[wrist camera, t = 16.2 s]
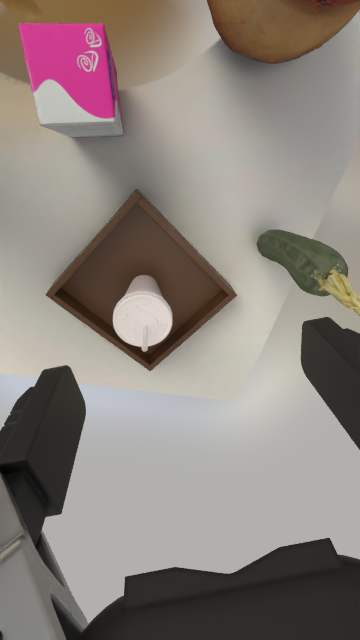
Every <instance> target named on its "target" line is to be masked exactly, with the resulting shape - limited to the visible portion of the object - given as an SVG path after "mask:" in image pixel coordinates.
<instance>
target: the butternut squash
mask: <svg viewBox="0 0 360 640" xmlns="http://www.w3.org/2000/svg"><path fill="white" fill-rule="evenodd" d="M207 2H208V5H209V9H210V11H211V15H212V19H213V24H214V26H215V28H216V30H217V31H218V33H219V35H220V37H221V39H222V40H223V41H224V43H225V44H226V45H227V46H228V47H229V48H230V49H231V50H232V51H233V52H236V53H239V54H243V55H246V56H248V57H250V58H252V59H254V60H256V61H260V62H264V63H268V64H276V63H282V62H287V61H291V60H293V59H296V58H299V57H301V56H303V55H305V54H307V53H309V52H311V51H313V50H315V49H317V48H319V47H321V46H322V45H323V44H324V43H325V42H327V41H328V40H329V39H331V38H332V37H333V36H334V35H336V34H337V33H338V32H339V31H340V30H341V29H342V28H343V27H344V26H345V25H346V24H347V23H348V22H349V21H350V20H351V19H352V18H353V17H354V16H355V14H356V13H357V12H358V11H359V10H360V0H207Z"/></svg>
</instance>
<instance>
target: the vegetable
mask: <svg viewBox="0 0 360 640" xmlns="http://www.w3.org/2000/svg"><path fill="white" fill-rule="evenodd" d="M257 246H258V250H259V252H260V253H261V254H262V256H264V257H266V258H268V259H270V260H272V261H275V262H277V263H279V264H281V265H282V266H283V267H285V268H286V269H287V271H288V272H289V273H290V275H291V276H292V278H293V279H294V281H295V282H296V283H297V285H298V286H299V287H300V288H301V289H302V290H303V291H305V292H307V293H310V294H313V295H317V296H328V295H332V296H333V297H334V298H335V299H337V300H338V301H339V302H340V303H342V304H343V305H344V306H346V307H347V308H353V309H354V311H355V312H356V313H358V315H360V295H359V294H357V292H356V291H354V289H353V287H352V285H350V282H349V280H348V279H347V275H348V267H347V264H346V262H345V260H344V259H343V257H342V256H341V255H340V254H339V253H338V252H337V251H335V250H334V249H333V248H331V247H329V246H327V245H325V244H323V243H321V242H319V241H316V240H313V239H309V238H307V237H303V236H300V235H297V234H294V233H291V232H287V231H282V230H269V231H267V232H266V233H264V234H262V235H261V236H260V237H259V240H258V242H257Z"/></svg>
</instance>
